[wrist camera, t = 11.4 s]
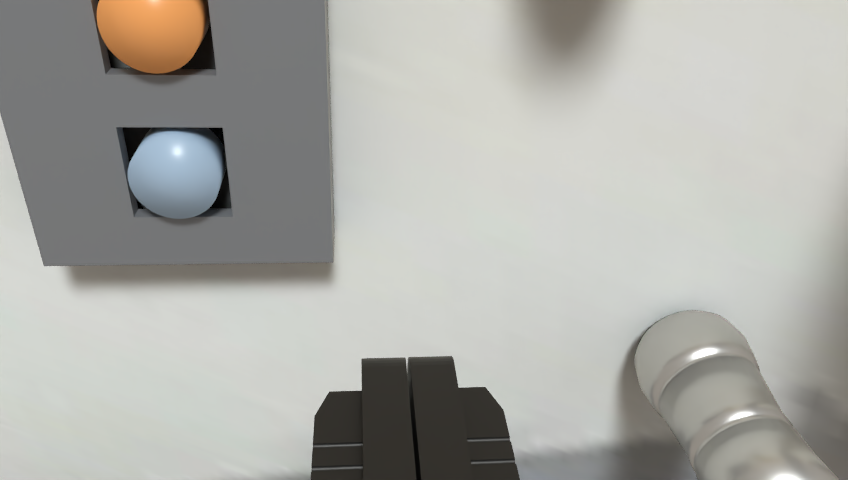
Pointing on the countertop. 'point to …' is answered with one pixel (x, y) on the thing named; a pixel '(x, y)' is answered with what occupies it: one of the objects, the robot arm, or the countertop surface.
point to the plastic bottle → (720, 402)
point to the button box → (172, 107)
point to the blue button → (177, 171)
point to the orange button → (153, 31)
